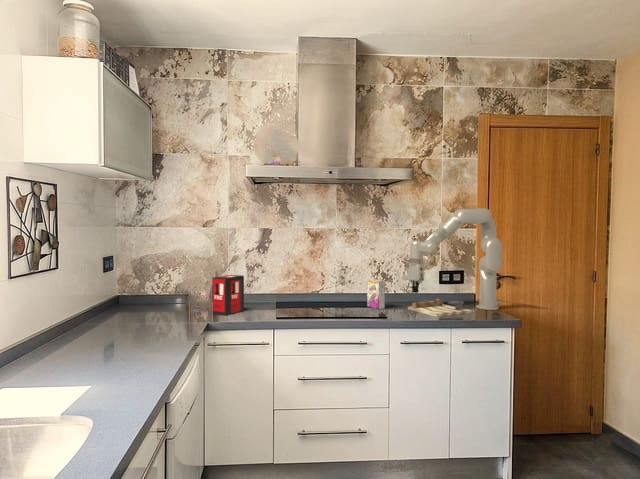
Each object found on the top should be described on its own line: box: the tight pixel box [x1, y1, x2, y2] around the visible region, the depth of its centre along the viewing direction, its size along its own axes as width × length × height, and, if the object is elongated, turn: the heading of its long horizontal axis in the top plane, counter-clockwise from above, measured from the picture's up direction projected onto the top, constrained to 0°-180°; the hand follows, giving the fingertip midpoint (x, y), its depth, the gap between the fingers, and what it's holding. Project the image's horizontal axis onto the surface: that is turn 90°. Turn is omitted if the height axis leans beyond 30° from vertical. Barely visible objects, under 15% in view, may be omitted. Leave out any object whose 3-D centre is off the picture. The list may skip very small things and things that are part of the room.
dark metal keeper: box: [447, 300, 465, 310], centre depth 280 cm, size 9×4×4 cm, turn 118°
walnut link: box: [411, 298, 443, 308], centre depth 290 cm, size 20×5×4 cm, turn 118°
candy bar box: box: [366, 278, 386, 310], centre depth 293 cm, size 11×5×16 cm, turn 34°
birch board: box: [407, 303, 473, 317], centre depth 284 cm, size 26×25×2 cm
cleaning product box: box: [211, 274, 245, 317], centre depth 271 cm, size 16×9×20 cm, turn 154°
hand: (415, 292), depth 295 cm, fingers closed
